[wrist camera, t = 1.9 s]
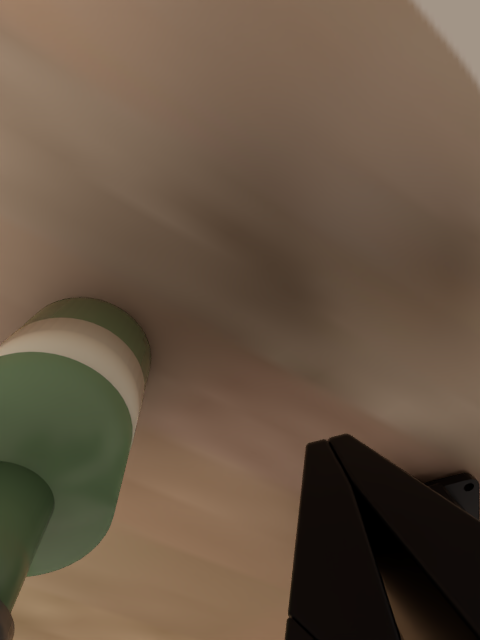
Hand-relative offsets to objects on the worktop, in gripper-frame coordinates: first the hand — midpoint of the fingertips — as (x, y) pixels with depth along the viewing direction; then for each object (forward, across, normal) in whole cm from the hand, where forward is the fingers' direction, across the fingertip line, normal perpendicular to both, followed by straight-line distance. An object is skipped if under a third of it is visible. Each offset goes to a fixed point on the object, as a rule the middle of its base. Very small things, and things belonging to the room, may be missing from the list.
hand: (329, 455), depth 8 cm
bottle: (+8, +7, 0) cm, 11 cm away
